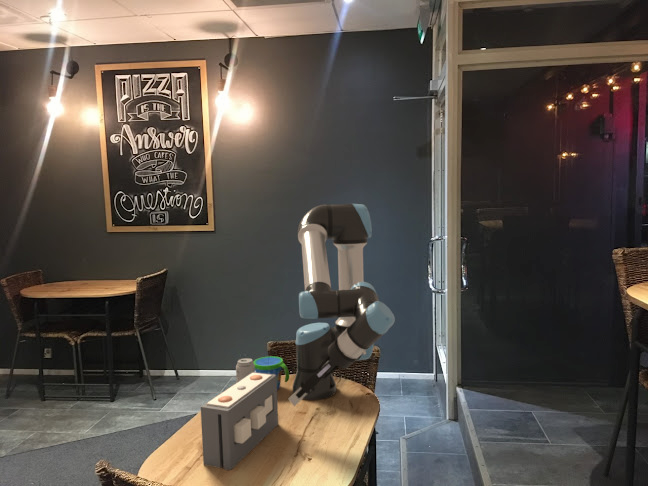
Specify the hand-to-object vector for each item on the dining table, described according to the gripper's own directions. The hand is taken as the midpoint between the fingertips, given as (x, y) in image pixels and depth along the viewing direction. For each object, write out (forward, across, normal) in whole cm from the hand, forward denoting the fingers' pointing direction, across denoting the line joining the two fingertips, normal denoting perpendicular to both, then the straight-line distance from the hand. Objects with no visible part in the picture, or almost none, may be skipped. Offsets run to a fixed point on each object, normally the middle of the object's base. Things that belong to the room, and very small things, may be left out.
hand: (292, 401), depth 136 cm
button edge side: (+8, -16, +2) cm, 18 cm away
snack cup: (+24, +29, +9) cm, 39 cm away
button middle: (+8, -8, +2) cm, 11 cm away
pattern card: (+4, -8, +11) cm, 14 cm away
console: (+15, -8, +1) cm, 17 cm away
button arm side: (+9, 0, +3) cm, 10 cm away
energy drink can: (+24, +14, +9) cm, 29 cm away
